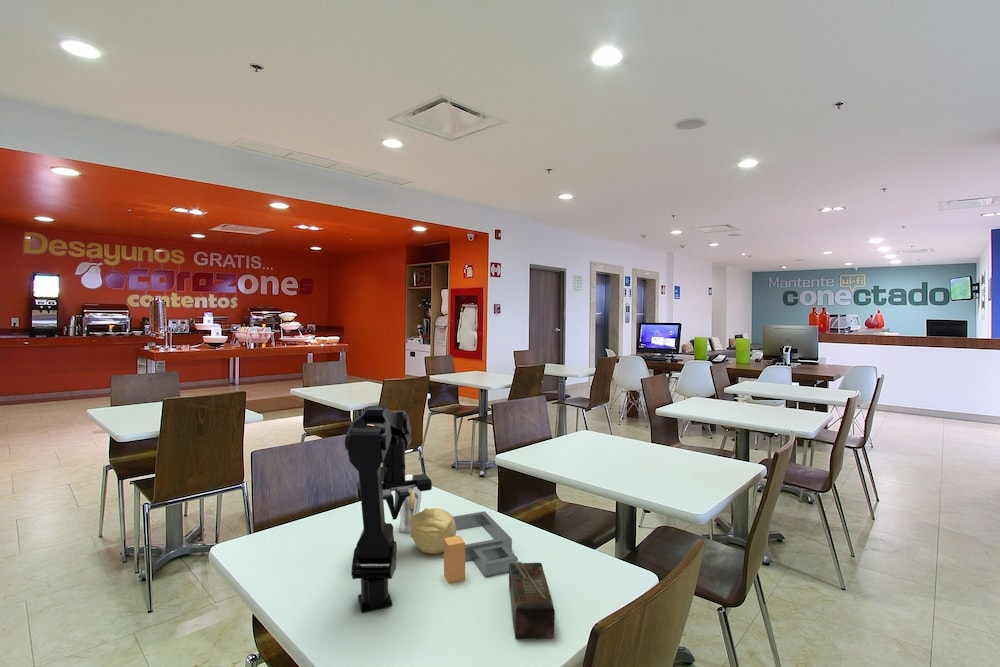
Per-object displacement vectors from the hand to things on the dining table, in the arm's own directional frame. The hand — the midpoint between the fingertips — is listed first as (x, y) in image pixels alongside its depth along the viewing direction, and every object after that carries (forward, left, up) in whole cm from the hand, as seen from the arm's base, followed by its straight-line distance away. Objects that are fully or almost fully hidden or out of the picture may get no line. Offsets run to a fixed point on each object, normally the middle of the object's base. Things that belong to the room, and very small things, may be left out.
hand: (394, 519), depth 130 cm
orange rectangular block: (-16, -11, -10) cm, 22 cm away
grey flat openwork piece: (-5, -22, -10) cm, 24 cm away
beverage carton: (-35, -22, -10) cm, 43 cm away
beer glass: (+15, -7, -10) cm, 19 cm away
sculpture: (0, -11, -10) cm, 15 cm away
